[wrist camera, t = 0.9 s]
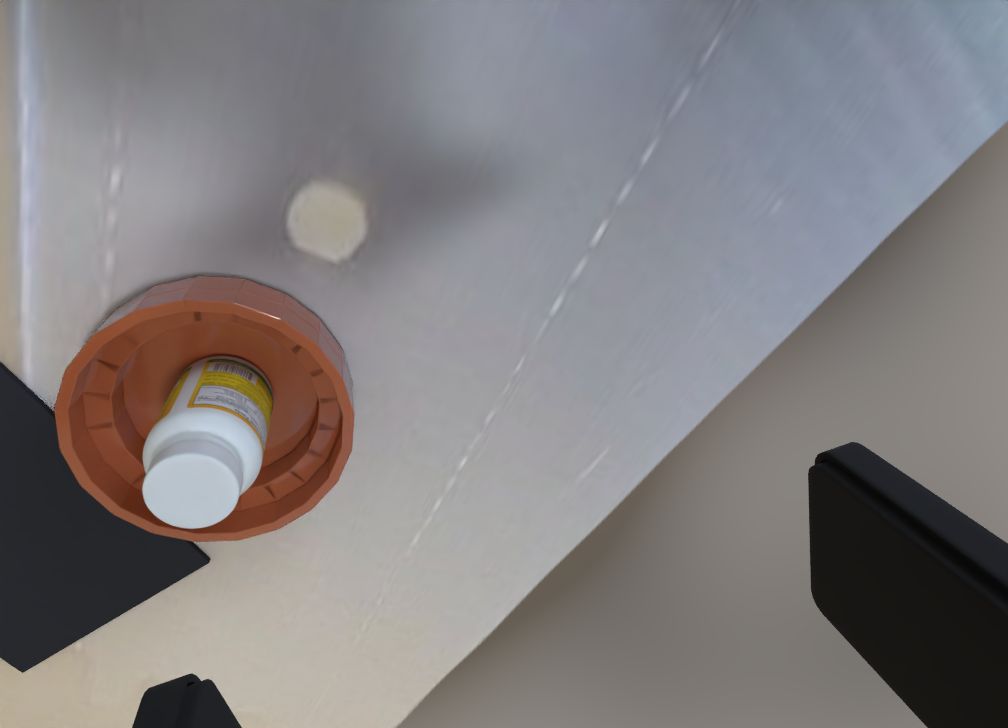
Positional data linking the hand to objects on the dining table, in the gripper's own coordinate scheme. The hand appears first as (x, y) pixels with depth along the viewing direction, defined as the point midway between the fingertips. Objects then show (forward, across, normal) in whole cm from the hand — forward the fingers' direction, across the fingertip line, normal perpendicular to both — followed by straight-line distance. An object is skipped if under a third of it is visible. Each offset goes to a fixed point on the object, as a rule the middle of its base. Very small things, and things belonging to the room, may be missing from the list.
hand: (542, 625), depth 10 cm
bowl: (+30, +12, +6) cm, 33 cm away
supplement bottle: (+29, +12, +6) cm, 32 cm away
